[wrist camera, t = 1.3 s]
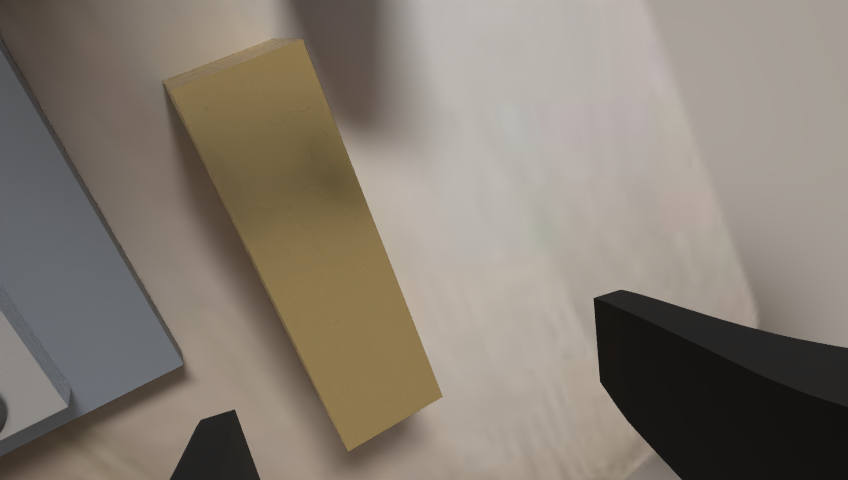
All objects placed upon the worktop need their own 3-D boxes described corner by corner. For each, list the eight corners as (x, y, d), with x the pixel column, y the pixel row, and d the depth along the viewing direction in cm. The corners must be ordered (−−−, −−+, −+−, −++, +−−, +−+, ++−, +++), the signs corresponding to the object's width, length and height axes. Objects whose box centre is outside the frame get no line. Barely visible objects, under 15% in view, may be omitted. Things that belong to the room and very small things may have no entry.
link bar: (315, 391, 24) (347, 451, 21) (162, 80, 19) (170, 90, 16) (398, 346, 25) (442, 396, 22) (271, 38, 20) (302, 38, 17)
